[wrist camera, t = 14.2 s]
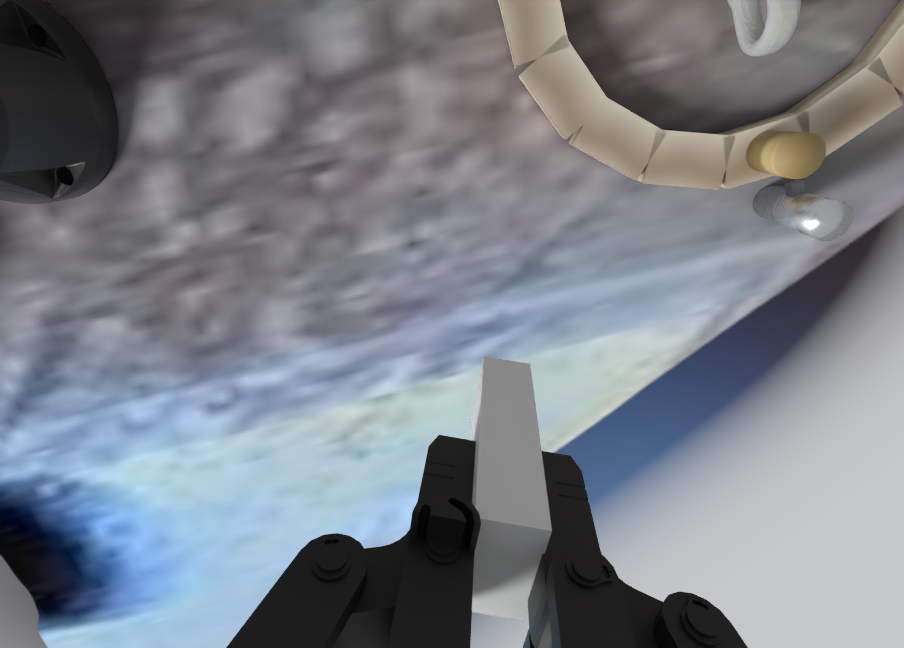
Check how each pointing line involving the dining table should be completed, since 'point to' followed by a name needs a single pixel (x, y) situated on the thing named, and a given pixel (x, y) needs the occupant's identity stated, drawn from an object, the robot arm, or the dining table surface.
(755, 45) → the teacup
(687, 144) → the ring
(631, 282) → the dining table surface
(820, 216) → the shiny cylinder
